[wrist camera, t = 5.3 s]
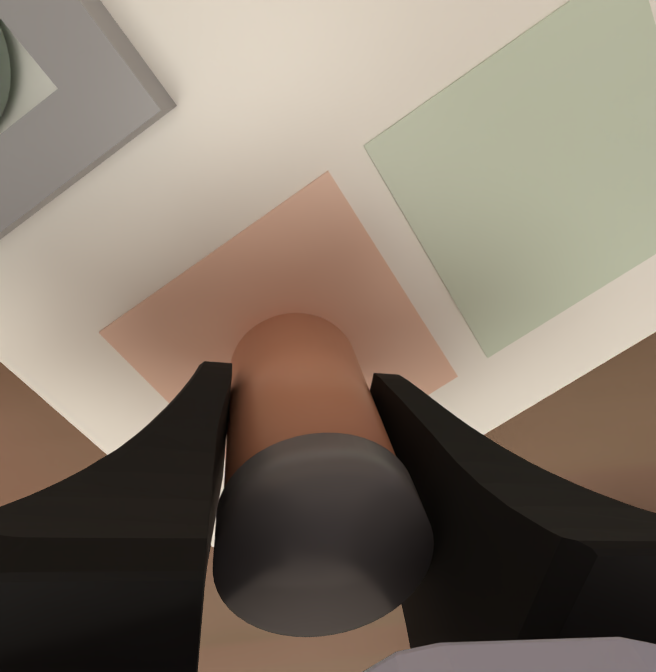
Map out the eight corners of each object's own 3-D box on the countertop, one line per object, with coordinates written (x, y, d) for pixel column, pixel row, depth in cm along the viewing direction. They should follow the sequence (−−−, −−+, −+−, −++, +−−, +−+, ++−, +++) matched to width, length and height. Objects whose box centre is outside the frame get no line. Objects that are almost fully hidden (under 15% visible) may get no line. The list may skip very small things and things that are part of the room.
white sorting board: (721, 270, 16) (823, 310, 13) (246, 557, 19) (246, 644, 16) (415, -804, 8) (515, -1337, 5) (-397, -19, 10) (-656, -62, 7)
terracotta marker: (378, 328, 13) (469, 495, 8) (335, 436, 14) (387, 644, 9) (245, 293, 12) (245, 456, 7) (212, 412, 14) (189, 627, 8)
